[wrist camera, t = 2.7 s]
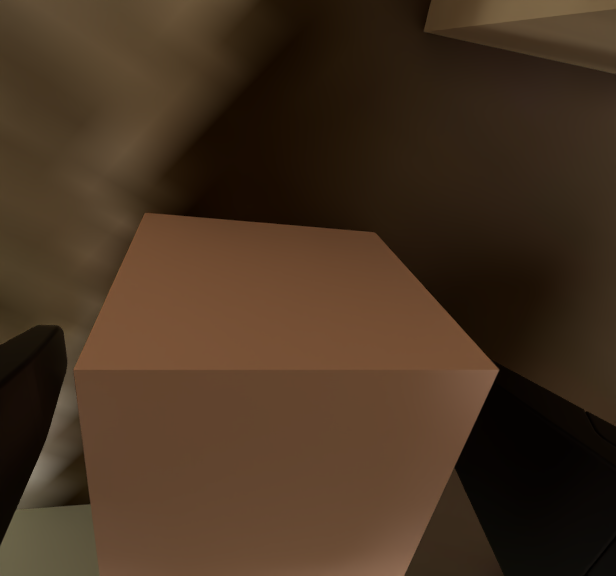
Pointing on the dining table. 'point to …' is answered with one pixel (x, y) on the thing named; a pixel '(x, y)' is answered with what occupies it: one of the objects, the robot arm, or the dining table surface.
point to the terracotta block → (269, 403)
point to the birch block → (533, 28)
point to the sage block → (50, 543)
